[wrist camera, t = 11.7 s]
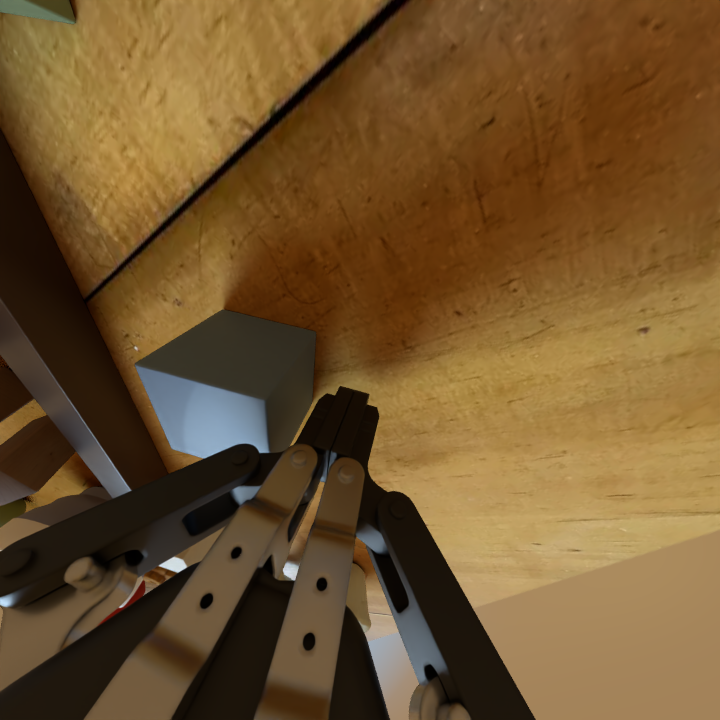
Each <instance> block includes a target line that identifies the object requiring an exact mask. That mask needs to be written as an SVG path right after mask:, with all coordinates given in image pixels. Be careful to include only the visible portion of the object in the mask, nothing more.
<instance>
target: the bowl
mask: <svg viewBox="0 0 720 720" xmlns="http://www.w3.org/2000/svg"><path fill="white" fill-rule="evenodd" d="M111 499H113V498H112V497H111V495H110V494H109V493H108V491H107V490H106V489H105V488H104V487H91V488H88V489H86V490H84V491H83V492H82V493H80V494H79V495H70V496H66V497H62V498H59V499H57V500H55V501H54V502H52V503H51V504H48V505H44V506H41V507H38V508H35V509H32V510H30V511H28V512H26V513H24V514H22V515H20V516H18V517H16V518H13V519H12V520H10V521H9V522H8V523H6V524H5V525H3V526H2V527H1V528H0V551H2V550H3V549H4V548H6V547H7V546H9V545H10V544H12V543H14V542H16V541H18V540H20V539H22V538H24V537H26V536H29V535H31V534H33V533H35V532H38V531H40V530H42V529H45V528H47V527H49V526H51V525H54V524H56V523H58V522H61V521H63V520H65V519H67V518H70V517H72V516H74V515H77V514H79V513H81V512H83V511H86V510H88V509H90V508H93V507H95V506H97V505H99V504H102V503H104V502H106V501H109V500H111ZM143 577H144V575H142V576H140V577H139V578H137V582H136V585H135V587H134V589H133V591H132V592H131V594H130V596H129V597H128V599H127V600H126V601H125V602H124V603H123V604H122V605H121V606H120V607H119V608H121V607H124V606H125V605H126V603H127V602H128V601H129V600H130V599H131V597H132V596H133V595H134V593H135V592H136V590H137V589H138V587H139V585H140V584H141V582H142V581H143Z"/></svg>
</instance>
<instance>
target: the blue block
mask: <svg viewBox="0 0 720 720" xmlns="http://www.w3.org/2000/svg"><path fill="white" fill-rule="evenodd" d="M315 345H316V332H315V331H311V330H307V329H303V328H299V327H294V326H290V325H286V324H282V323H278V322H274V321H270V320H266V319H261V318H257V317H253V316H249V315H245V314H241V313H237V312H232V311H228V310H221V311H219V312H218V313H216V314H214V315H213V316H211V317H209V318H208V319H206V320H204V321H203V322H201V323H200V324H198V325H196V326H195V327H193V328H191V329H190V330H188V331H187V332H185V333H183V334H182V335H180V336H178V337H177V338H175V339H174V340H172V341H170V342H169V343H167V344H165V345H164V346H162V347H161V348H159V349H157V350H156V351H154V352H152V353H151V354H149V355H148V356H146V357H144V358H143V359H141V360H139V361H138V362H136V363H135V367H136V369H137V372H138V374H139V376H140V378H141V381H142V383H143V385H144V387H145V390H146V392H147V394H148V397H149V399H150V401H151V403H152V406H153V408H154V410H155V412H156V415H157V417H158V419H159V421H160V424H161V426H162V428H163V430H164V433H165V435H166V437H167V439H168V442H169V444H170V446H171V448H172V449H173V450H177V451H180V452H183V453H187V454H190V455H194V456H197V457H200V458H204V459H205V458H207V457H209V456H211V455H214V454H216V453H218V452H221V451H223V450H225V449H227V448H230V447H232V446H234V445H237V444H242V443H247V444H251V445H254V446H255V447H256V448H257V449H258V450H259V453H277V452H282V451H285V450H286V449H287V448H288V447H289V446H290V445H291V443H292V441H293V439H294V437H295V435H296V433H297V431H298V429H299V427H300V425H301V424H302V422H303V420H304V418H305V416H306V414H307V412H308V410H309V408H310V406H311V404H312V396H313V379H314V362H315Z"/></svg>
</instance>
